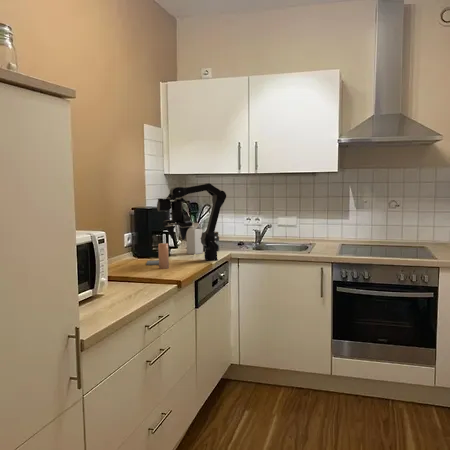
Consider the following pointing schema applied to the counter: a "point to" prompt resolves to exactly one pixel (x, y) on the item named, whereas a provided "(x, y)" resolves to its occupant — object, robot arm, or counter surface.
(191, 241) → the milk carton
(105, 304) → the counter surface
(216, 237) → the supplement container
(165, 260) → the brown rounded tapered cylinder
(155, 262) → the gray panel
